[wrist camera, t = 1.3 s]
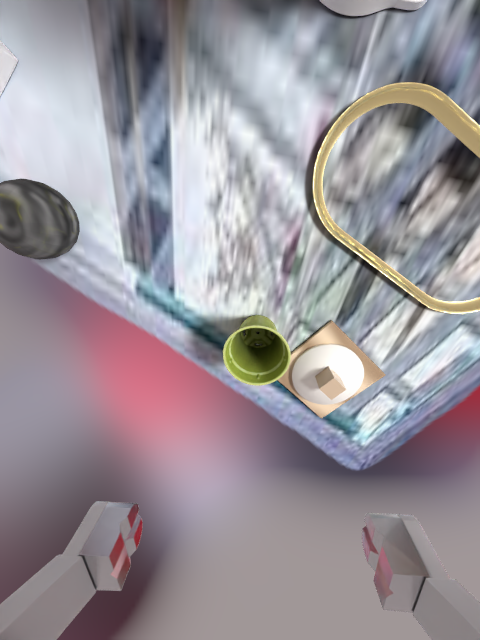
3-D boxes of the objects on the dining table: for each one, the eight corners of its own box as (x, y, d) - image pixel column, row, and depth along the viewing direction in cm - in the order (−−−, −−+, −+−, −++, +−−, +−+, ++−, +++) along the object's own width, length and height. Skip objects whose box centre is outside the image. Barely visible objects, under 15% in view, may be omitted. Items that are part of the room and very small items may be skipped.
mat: (331, 320, 41) (332, 321, 40) (384, 373, 44) (385, 375, 43) (269, 370, 46) (269, 372, 45) (320, 416, 48) (321, 418, 48)
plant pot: (232, 356, 45) (226, 386, 37) (227, 306, 42) (219, 327, 34) (285, 354, 44) (291, 384, 36) (284, 303, 41) (290, 324, 33)
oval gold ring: (458, 332, 41) (465, 336, 39) (282, 199, 36) (283, 198, 34) (576, 229, 34) (591, 229, 33) (382, 49, 29) (389, 40, 28)
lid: (331, 329, 41) (338, 341, 37) (377, 374, 43) (388, 390, 39) (277, 372, 45) (278, 387, 41) (322, 412, 47) (327, 430, 43)
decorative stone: (60, 168, 36) (-10, 151, 27) (107, 231, 39) (59, 235, 29) (17, 210, 39) (-60, 207, 29) (65, 266, 41) (8, 279, 32)
